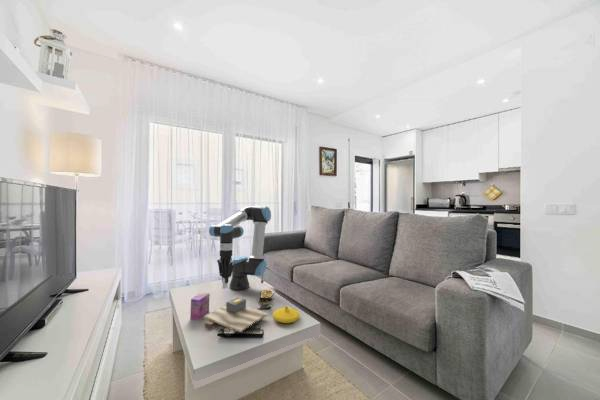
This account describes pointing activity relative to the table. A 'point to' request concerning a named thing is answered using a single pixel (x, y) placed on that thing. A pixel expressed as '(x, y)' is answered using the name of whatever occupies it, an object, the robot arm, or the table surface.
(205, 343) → the table surface
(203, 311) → the box
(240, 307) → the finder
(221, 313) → the beige cloth
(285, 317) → the yellow pattypan squash
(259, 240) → the robot arm
